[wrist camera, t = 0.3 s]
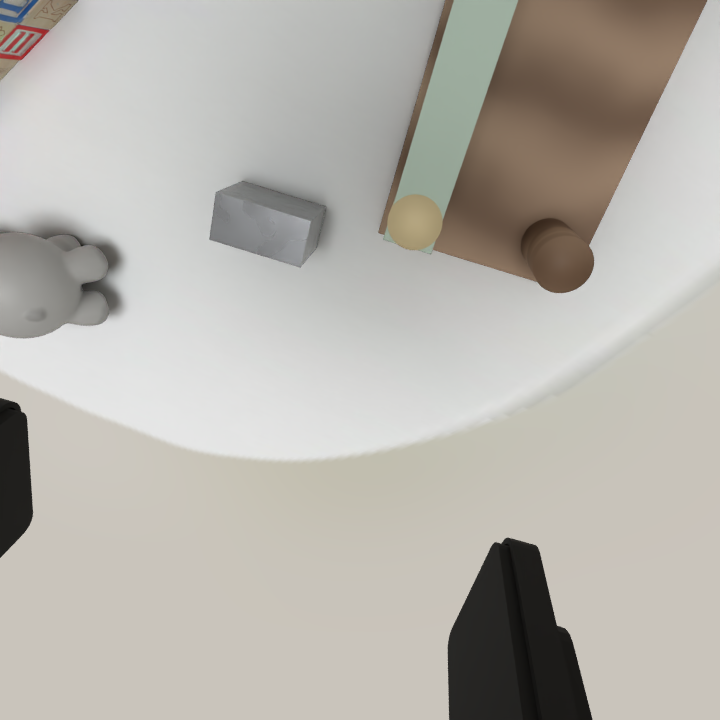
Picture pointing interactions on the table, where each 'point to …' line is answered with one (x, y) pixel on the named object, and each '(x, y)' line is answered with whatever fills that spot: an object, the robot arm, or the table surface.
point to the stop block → (266, 222)
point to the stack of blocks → (26, 26)
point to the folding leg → (448, 120)
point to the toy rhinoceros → (48, 284)
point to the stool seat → (555, 131)
